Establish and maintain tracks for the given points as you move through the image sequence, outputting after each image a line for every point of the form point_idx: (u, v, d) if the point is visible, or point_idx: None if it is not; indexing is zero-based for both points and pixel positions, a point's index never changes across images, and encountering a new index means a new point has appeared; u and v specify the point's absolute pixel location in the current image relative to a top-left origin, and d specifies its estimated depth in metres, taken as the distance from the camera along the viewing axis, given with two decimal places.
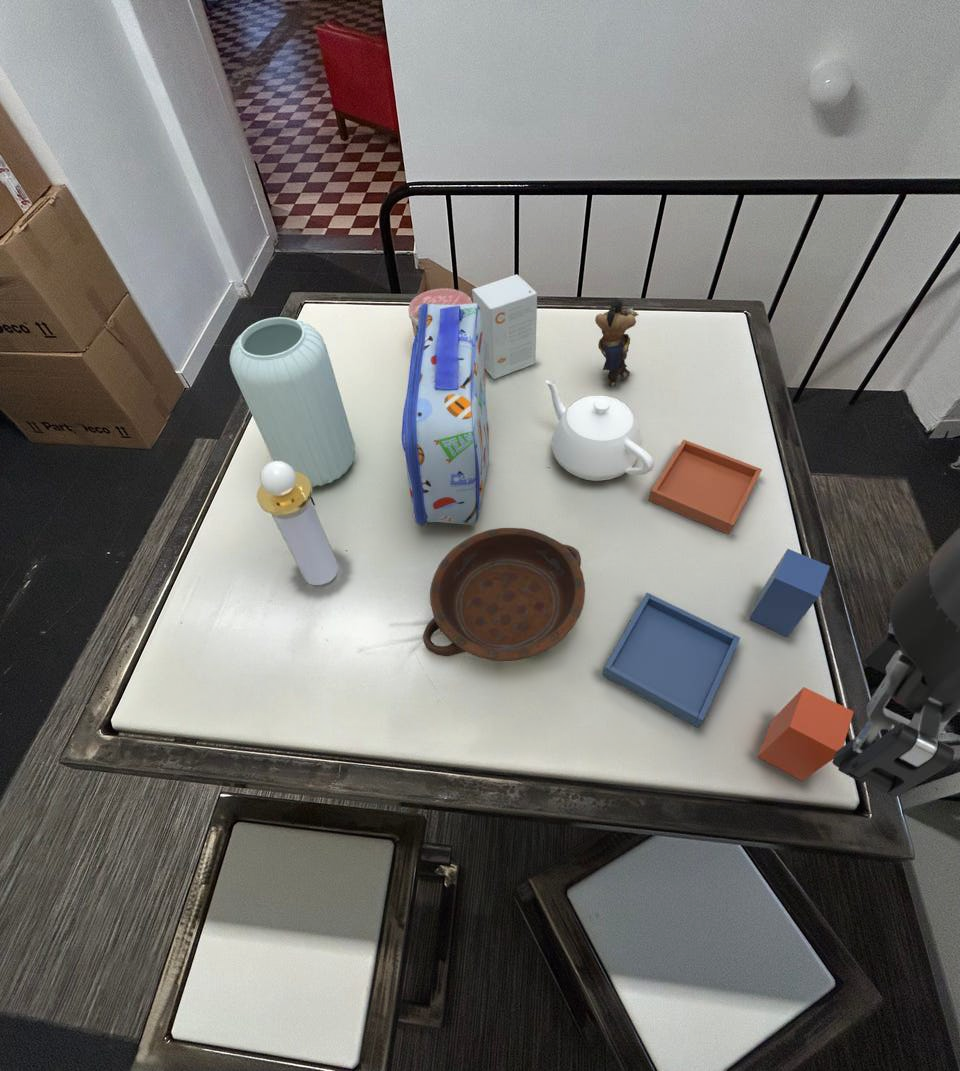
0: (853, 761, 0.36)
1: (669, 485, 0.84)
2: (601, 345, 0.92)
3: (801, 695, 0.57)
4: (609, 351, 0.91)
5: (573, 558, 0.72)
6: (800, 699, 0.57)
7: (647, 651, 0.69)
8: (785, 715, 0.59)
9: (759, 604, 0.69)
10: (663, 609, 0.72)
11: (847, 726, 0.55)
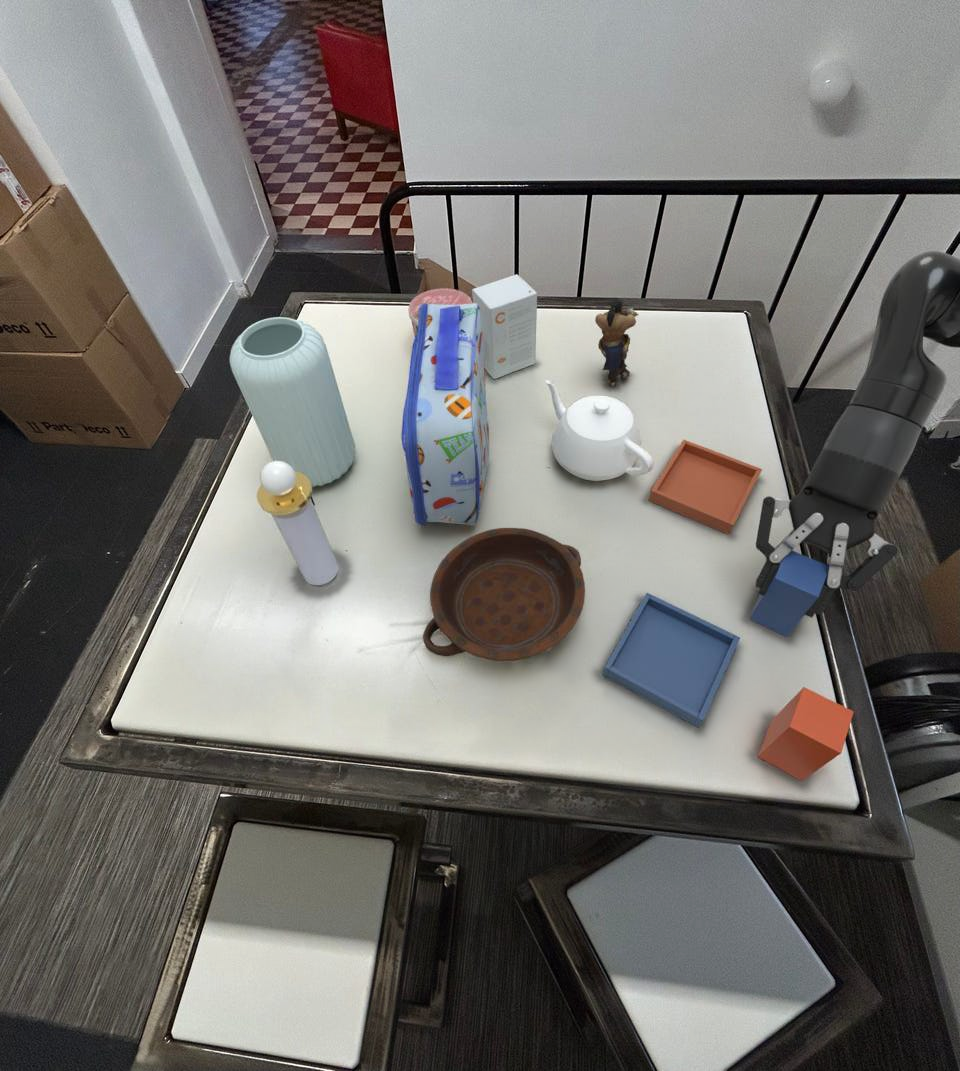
0: None
1: (669, 485, 0.84)
2: (601, 345, 0.92)
3: (801, 695, 0.57)
4: (609, 351, 0.91)
5: (573, 558, 0.72)
6: (800, 699, 0.57)
7: (647, 651, 0.69)
8: (785, 715, 0.59)
9: (759, 604, 0.69)
10: (663, 609, 0.72)
11: (847, 726, 0.55)
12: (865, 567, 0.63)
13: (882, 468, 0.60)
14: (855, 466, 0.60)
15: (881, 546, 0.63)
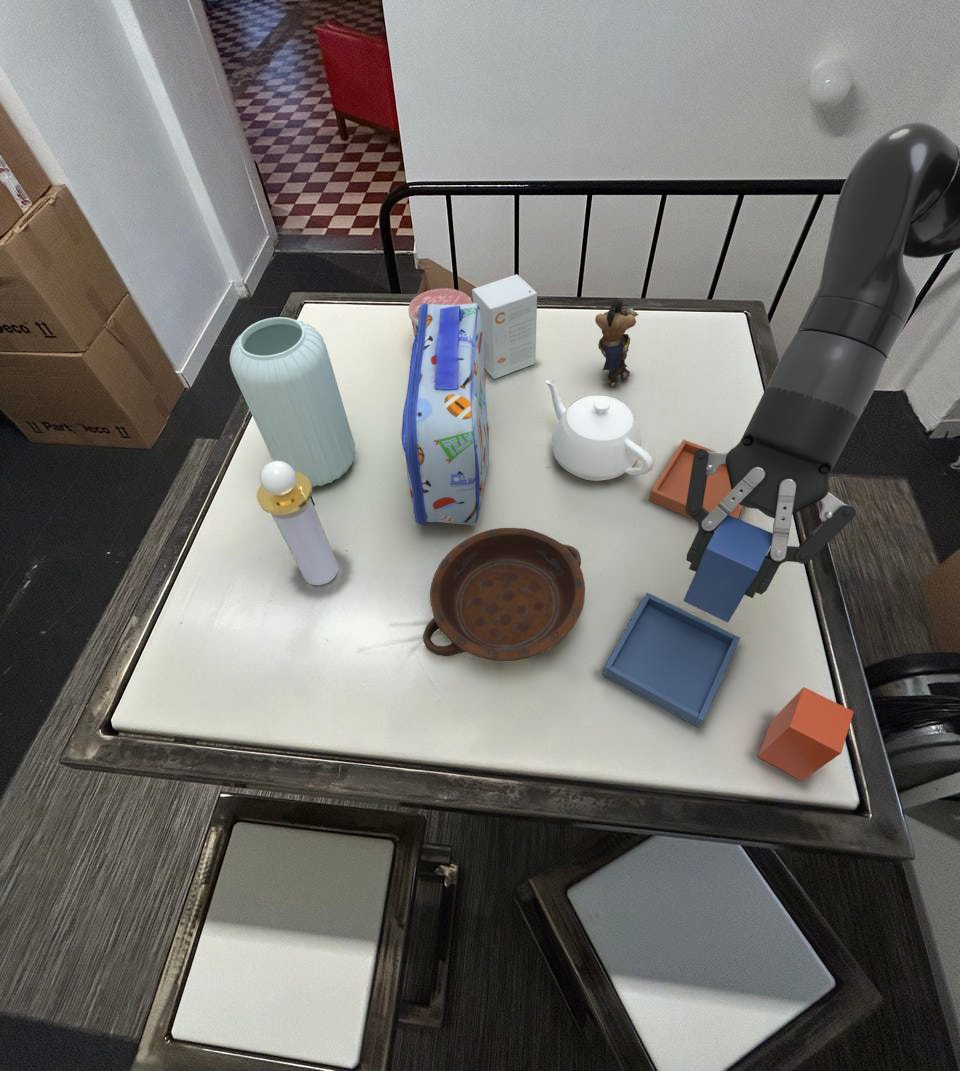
0: None
1: (669, 485, 0.84)
2: (601, 345, 0.92)
3: (801, 695, 0.57)
4: (609, 351, 0.91)
5: (573, 558, 0.72)
6: (800, 699, 0.57)
7: (647, 651, 0.69)
8: (785, 715, 0.59)
9: (692, 582, 0.57)
10: (663, 609, 0.72)
11: (847, 726, 0.55)
12: (816, 534, 0.50)
13: (835, 407, 0.47)
14: (802, 405, 0.48)
15: (836, 508, 0.50)
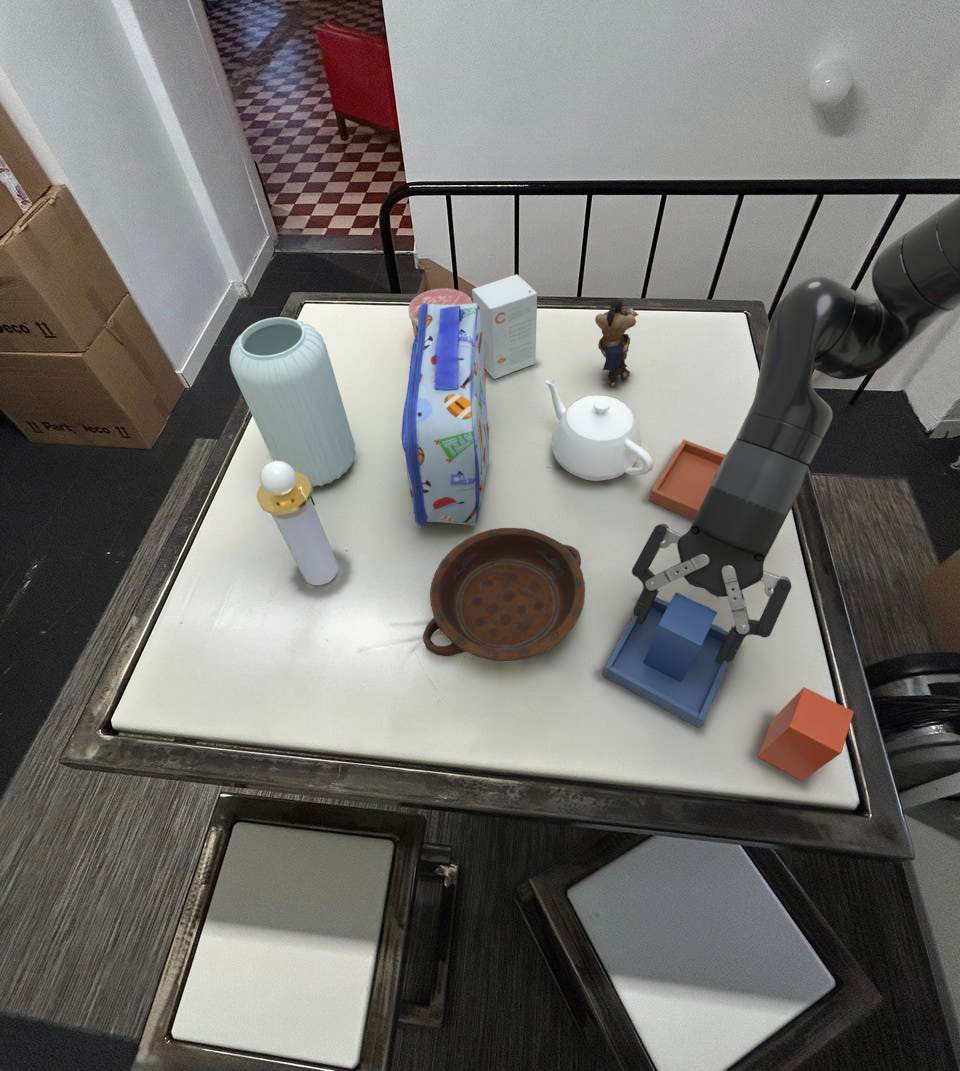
0: None
1: (669, 485, 0.84)
2: (601, 345, 0.92)
3: (801, 695, 0.57)
4: (609, 351, 0.91)
5: (573, 558, 0.72)
6: (800, 699, 0.57)
7: None
8: (785, 715, 0.59)
9: (649, 649, 0.66)
10: (663, 609, 0.72)
11: (847, 726, 0.55)
12: (767, 610, 0.58)
13: (765, 509, 0.56)
14: (737, 506, 0.56)
15: (775, 583, 0.58)
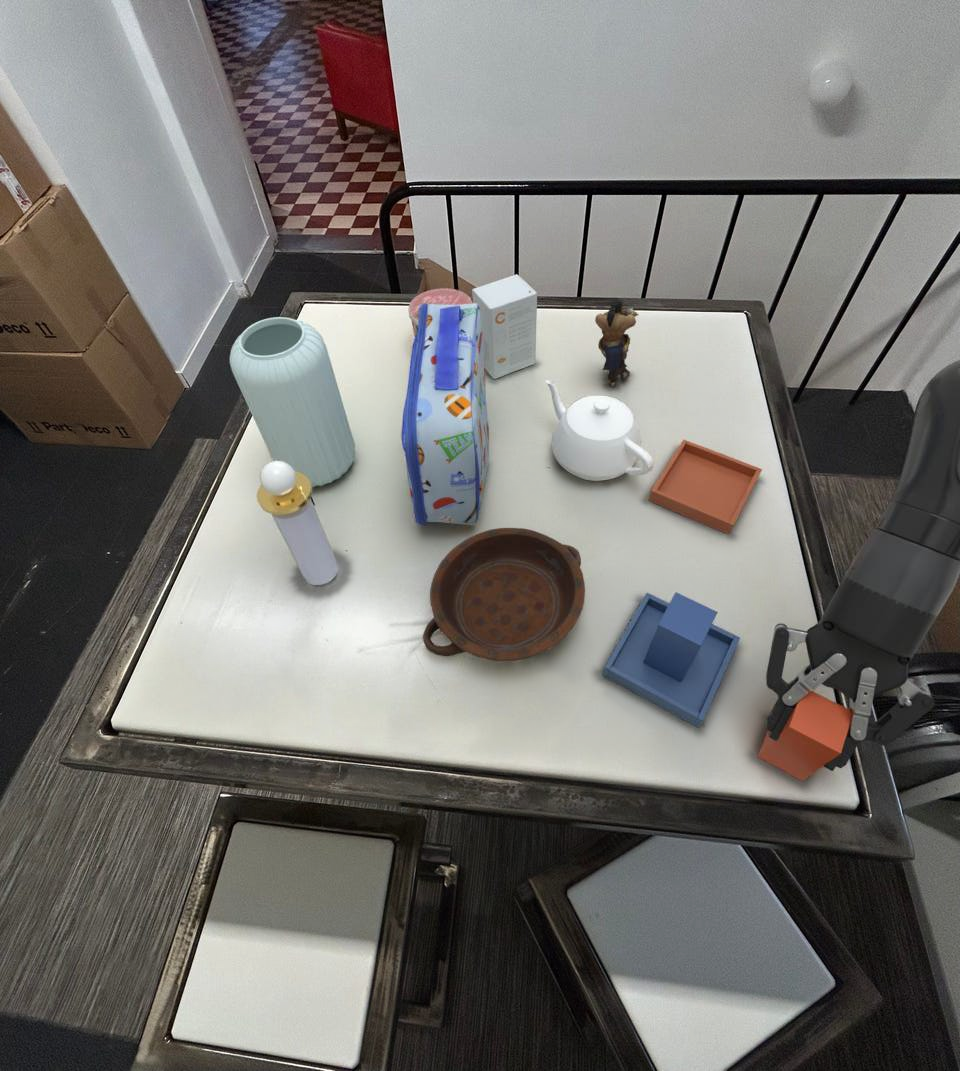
0: None
1: (669, 485, 0.84)
2: (601, 345, 0.92)
3: None
4: (609, 351, 0.91)
5: (573, 558, 0.72)
6: None
7: None
8: None
9: (649, 649, 0.66)
10: (663, 609, 0.72)
11: (847, 726, 0.55)
12: (896, 719, 0.53)
13: (918, 611, 0.50)
14: (885, 607, 0.51)
15: (915, 695, 0.53)
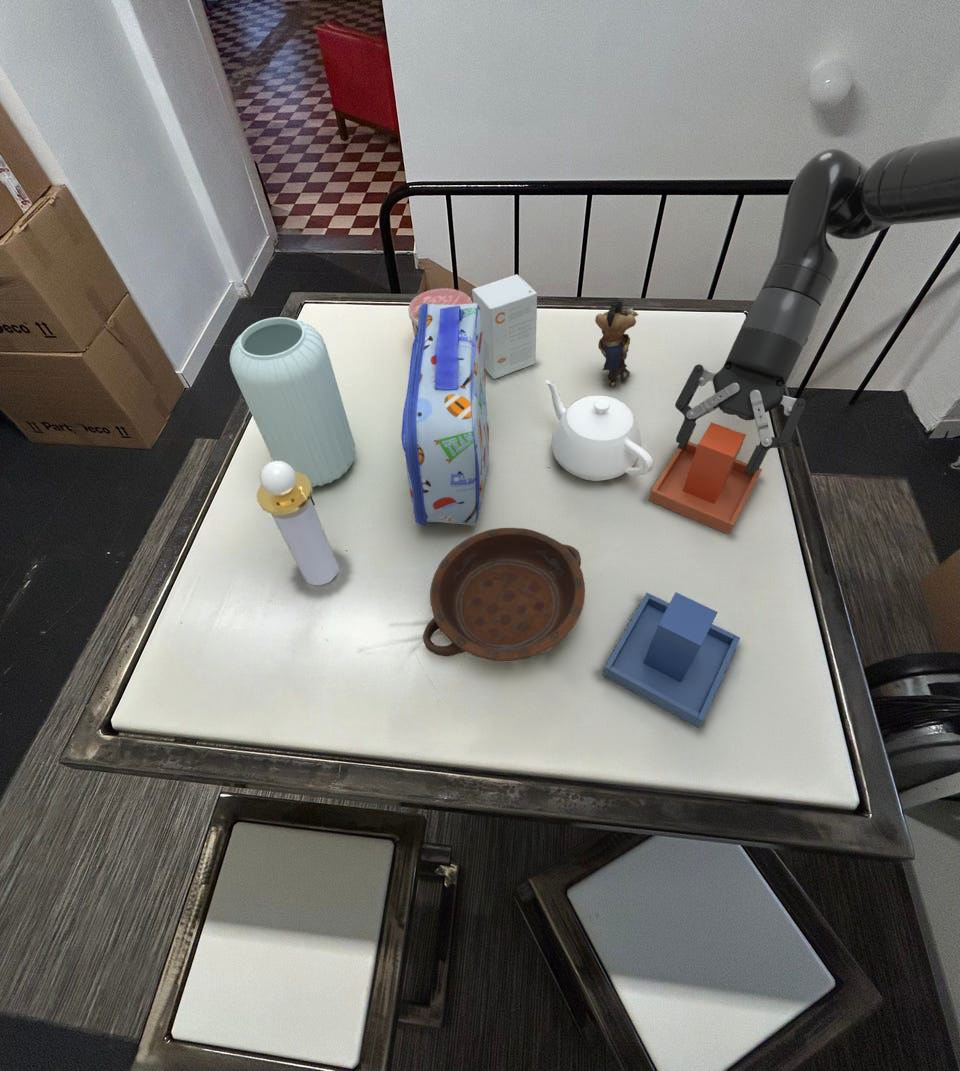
0: None
1: (669, 485, 0.84)
2: (601, 345, 0.92)
3: (709, 426, 0.78)
4: (609, 351, 0.91)
5: (573, 558, 0.72)
6: (708, 428, 0.77)
7: None
8: None
9: (649, 649, 0.66)
10: (663, 609, 0.72)
11: (740, 442, 0.76)
12: (786, 424, 0.73)
13: (785, 338, 0.70)
14: (763, 337, 0.71)
15: (793, 403, 0.73)
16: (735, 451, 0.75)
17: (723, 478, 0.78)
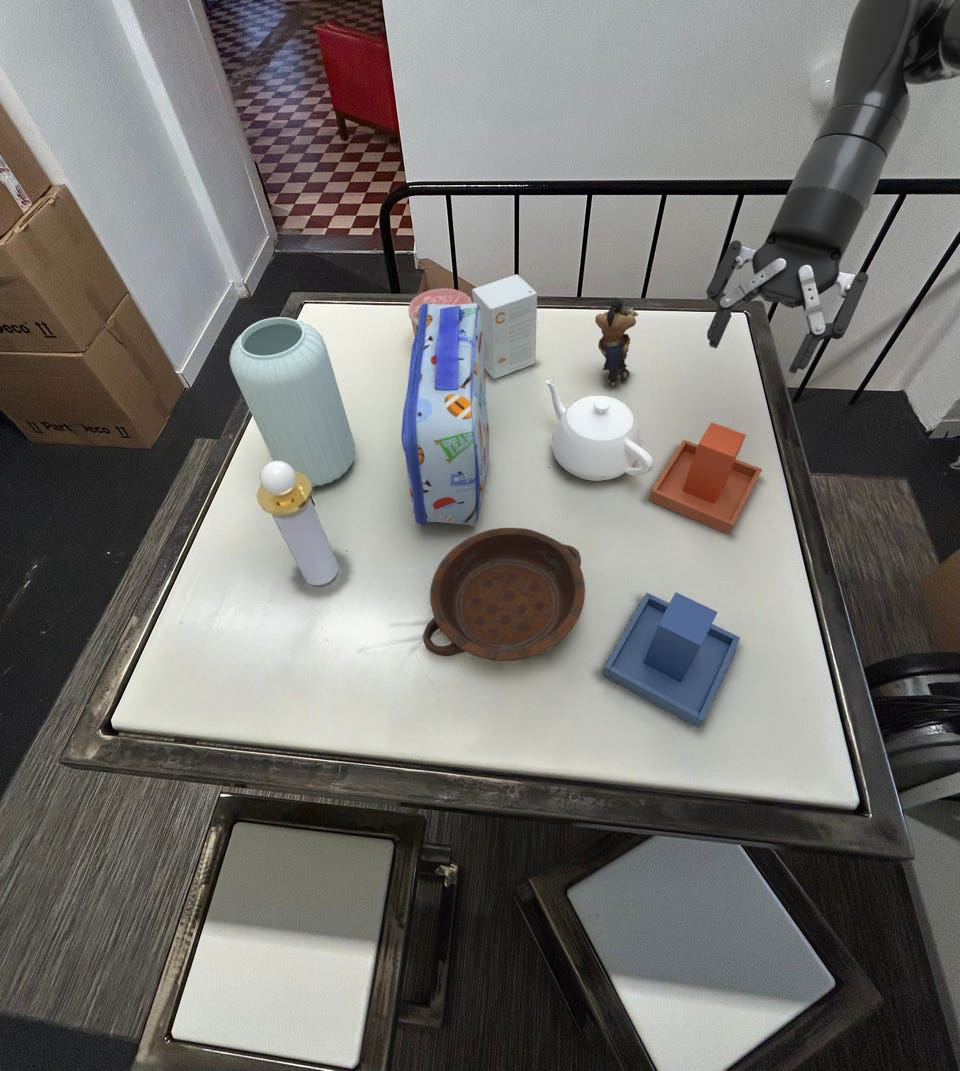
0: None
1: (669, 485, 0.84)
2: (601, 345, 0.92)
3: (709, 426, 0.78)
4: (609, 351, 0.91)
5: (573, 558, 0.72)
6: (708, 428, 0.77)
7: None
8: None
9: (649, 649, 0.66)
10: (663, 609, 0.72)
11: (740, 442, 0.76)
12: (844, 306, 0.60)
13: (845, 195, 0.58)
14: (817, 196, 0.58)
15: (851, 281, 0.60)
16: (735, 451, 0.75)
17: (723, 478, 0.78)
